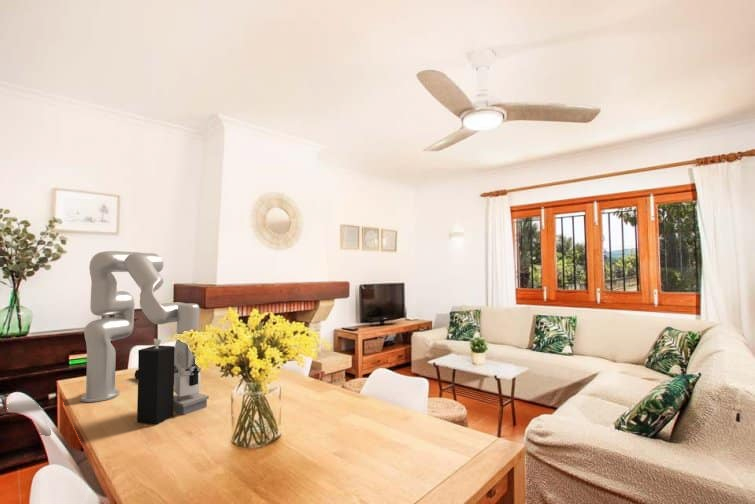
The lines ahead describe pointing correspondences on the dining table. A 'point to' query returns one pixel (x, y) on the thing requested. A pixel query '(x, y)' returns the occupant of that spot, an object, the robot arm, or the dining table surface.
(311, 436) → the dining table surface
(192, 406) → the podium
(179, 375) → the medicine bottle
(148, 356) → the tall black pillar
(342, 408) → the dining table surface
